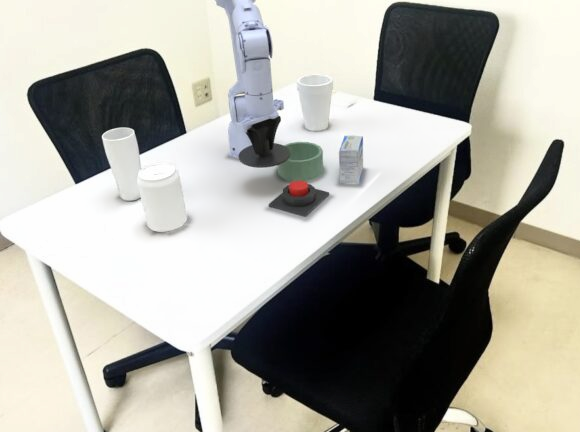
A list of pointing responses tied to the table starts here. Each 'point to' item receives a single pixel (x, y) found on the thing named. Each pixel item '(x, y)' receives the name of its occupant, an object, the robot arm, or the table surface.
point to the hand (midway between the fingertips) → (264, 151)
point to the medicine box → (351, 159)
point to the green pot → (302, 162)
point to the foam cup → (315, 100)
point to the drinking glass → (123, 160)
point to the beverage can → (162, 197)
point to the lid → (268, 160)
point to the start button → (298, 188)
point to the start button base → (299, 201)
